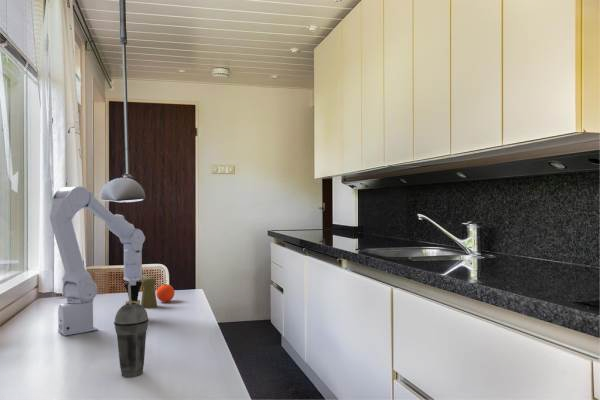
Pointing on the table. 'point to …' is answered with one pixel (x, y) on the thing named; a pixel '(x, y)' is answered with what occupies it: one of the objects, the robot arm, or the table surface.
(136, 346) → the beverage cup
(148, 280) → the cork
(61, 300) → the table surface
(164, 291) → the clementine
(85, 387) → the table surface
